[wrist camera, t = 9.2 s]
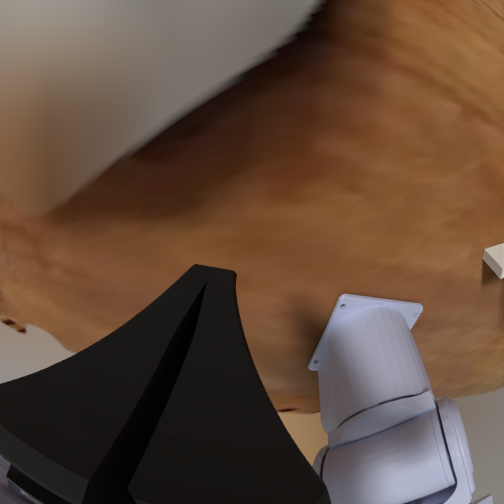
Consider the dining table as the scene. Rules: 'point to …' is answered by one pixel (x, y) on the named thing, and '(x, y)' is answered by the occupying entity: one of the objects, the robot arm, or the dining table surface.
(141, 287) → the dining table surface
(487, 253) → the holder
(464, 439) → the robot arm
